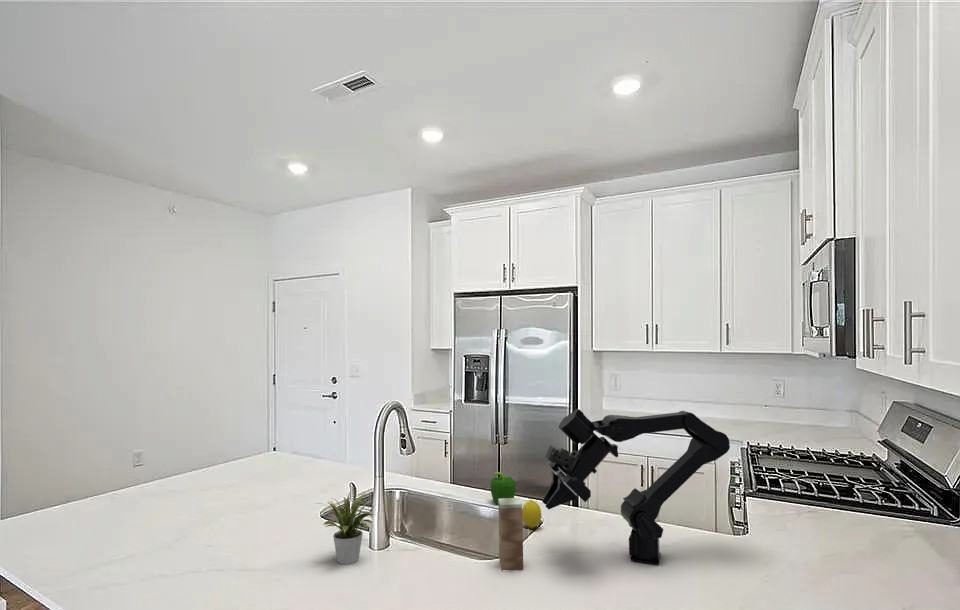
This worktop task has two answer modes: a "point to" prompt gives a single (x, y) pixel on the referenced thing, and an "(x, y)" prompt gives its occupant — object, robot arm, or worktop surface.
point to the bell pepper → (502, 487)
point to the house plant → (348, 530)
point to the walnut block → (510, 534)
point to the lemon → (531, 514)
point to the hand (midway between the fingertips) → (545, 505)
